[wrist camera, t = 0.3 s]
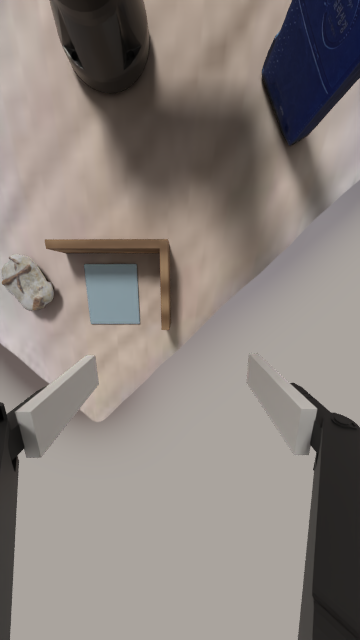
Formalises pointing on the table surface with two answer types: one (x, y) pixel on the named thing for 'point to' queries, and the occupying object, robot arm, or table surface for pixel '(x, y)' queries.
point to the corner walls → (126, 247)
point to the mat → (112, 293)
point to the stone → (27, 282)
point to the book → (312, 63)
